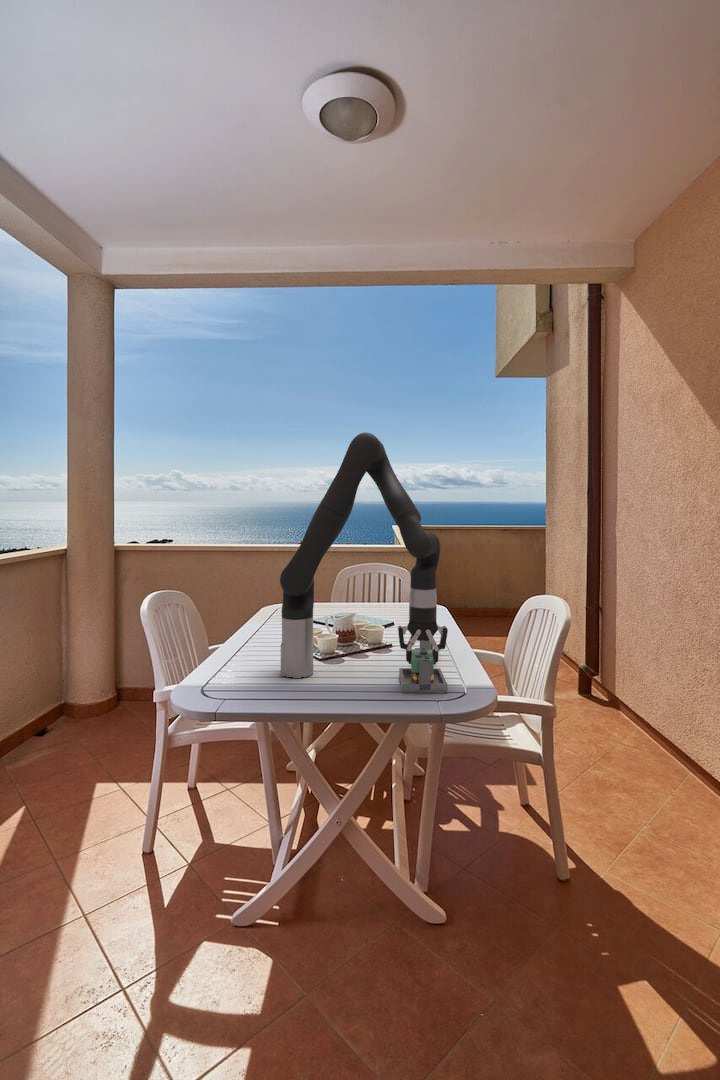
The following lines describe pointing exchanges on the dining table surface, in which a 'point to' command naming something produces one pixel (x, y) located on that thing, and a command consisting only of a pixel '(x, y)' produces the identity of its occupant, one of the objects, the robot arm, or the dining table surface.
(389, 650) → the dining table surface
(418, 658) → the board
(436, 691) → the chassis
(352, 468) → the robot arm
